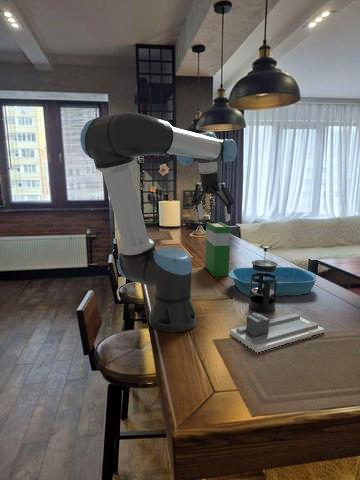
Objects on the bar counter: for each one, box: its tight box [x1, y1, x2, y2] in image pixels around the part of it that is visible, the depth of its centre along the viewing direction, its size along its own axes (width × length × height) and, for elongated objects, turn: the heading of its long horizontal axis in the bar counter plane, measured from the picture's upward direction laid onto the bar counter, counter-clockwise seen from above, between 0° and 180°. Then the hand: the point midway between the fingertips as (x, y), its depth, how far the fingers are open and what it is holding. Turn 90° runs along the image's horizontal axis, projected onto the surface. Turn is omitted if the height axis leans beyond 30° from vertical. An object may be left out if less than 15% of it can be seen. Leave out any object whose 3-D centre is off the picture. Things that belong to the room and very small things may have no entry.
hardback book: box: [204, 221, 231, 277], centre depth 159 cm, size 18×7×24 cm, turn 9°
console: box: [229, 312, 325, 354], centre depth 95 cm, size 26×12×2 cm, turn 117°
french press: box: [248, 244, 279, 314], centre depth 112 cm, size 12×9×23 cm
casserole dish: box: [228, 266, 317, 297], centre depth 135 cm, size 37×22×7 cm, turn 94°
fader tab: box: [245, 312, 270, 338], centre depth 91 cm, size 4×4×6 cm
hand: (214, 219), depth 140 cm, fingers open, 13 cm apart
